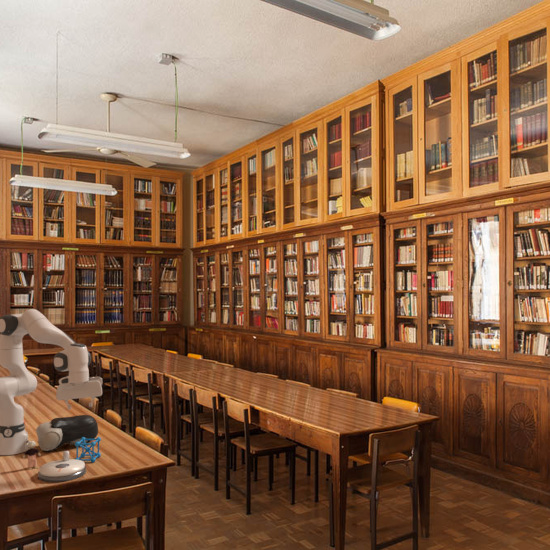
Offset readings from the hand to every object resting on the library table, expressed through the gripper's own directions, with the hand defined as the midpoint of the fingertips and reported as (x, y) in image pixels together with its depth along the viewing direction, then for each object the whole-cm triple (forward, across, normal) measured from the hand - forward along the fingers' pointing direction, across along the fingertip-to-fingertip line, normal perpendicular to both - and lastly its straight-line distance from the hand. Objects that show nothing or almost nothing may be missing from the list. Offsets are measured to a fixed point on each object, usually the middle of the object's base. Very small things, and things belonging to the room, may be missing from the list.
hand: (80, 407), depth 245 cm
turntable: (+26, +8, +4) cm, 27 cm away
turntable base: (+28, +8, +4) cm, 30 cm away
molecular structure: (+28, -1, -14) cm, 31 cm away
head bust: (+26, +10, -40) cm, 49 cm away
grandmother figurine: (+27, +23, -9) cm, 37 cm away
